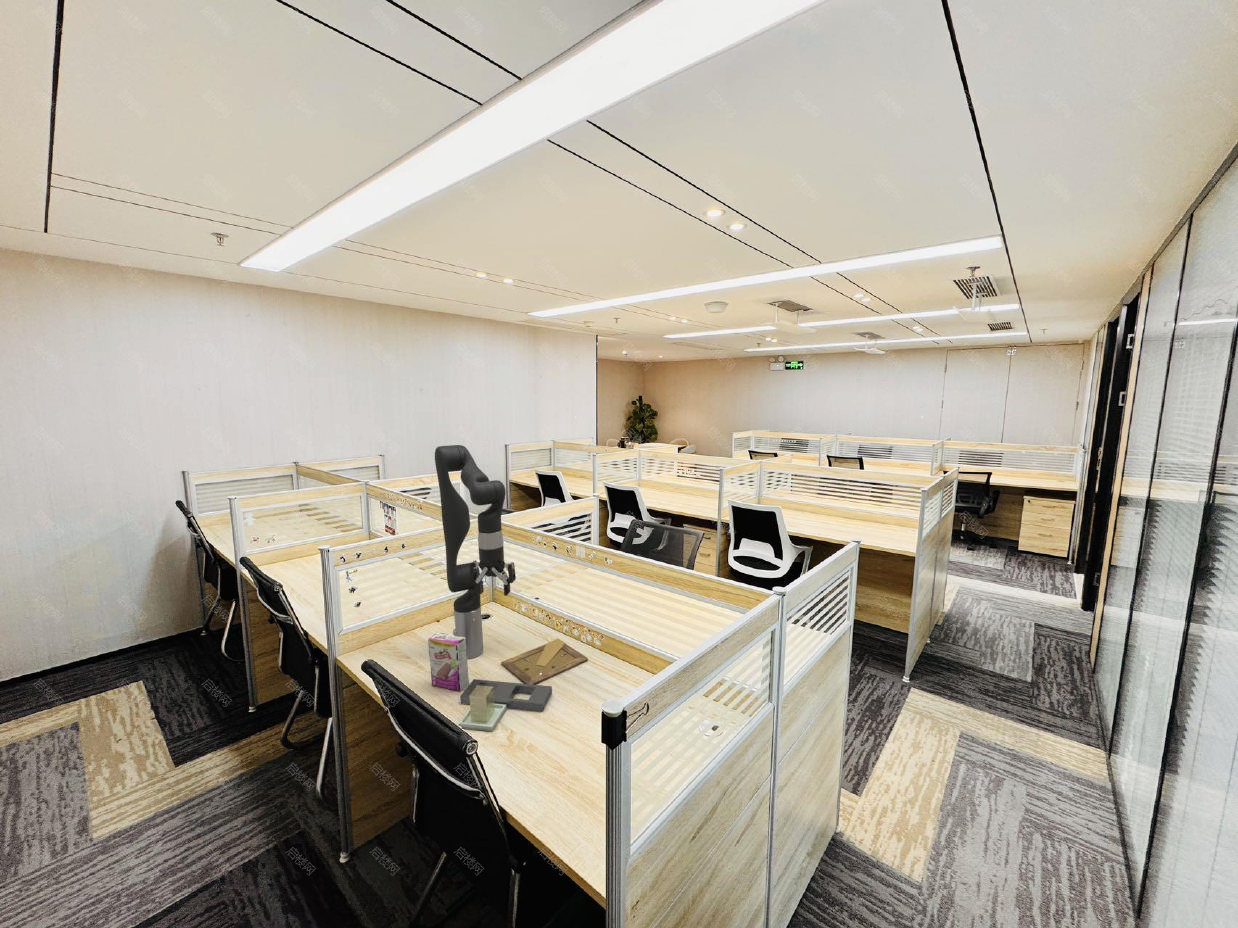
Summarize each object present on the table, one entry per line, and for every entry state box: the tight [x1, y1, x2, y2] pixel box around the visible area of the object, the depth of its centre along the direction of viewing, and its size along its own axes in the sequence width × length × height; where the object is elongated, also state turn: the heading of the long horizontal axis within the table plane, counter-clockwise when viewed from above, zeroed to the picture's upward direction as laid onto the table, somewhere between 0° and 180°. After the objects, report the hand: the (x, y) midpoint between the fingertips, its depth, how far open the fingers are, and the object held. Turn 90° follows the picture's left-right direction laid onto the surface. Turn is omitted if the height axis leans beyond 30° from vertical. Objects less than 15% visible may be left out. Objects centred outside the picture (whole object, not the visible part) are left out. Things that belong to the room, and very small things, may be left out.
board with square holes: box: [459, 678, 553, 713], centre depth 155 cm, size 26×9×2 cm, turn 80°
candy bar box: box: [427, 632, 470, 692], centre depth 162 cm, size 11×5×16 cm, turn 71°
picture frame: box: [500, 638, 589, 685], centre depth 175 cm, size 19×2×24 cm
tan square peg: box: [469, 685, 495, 723], centre depth 146 cm, size 5×5×8 cm
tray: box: [458, 704, 508, 733], centre depth 146 cm, size 10×10×2 cm
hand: (493, 594), depth 160 cm, fingers open, 8 cm apart
